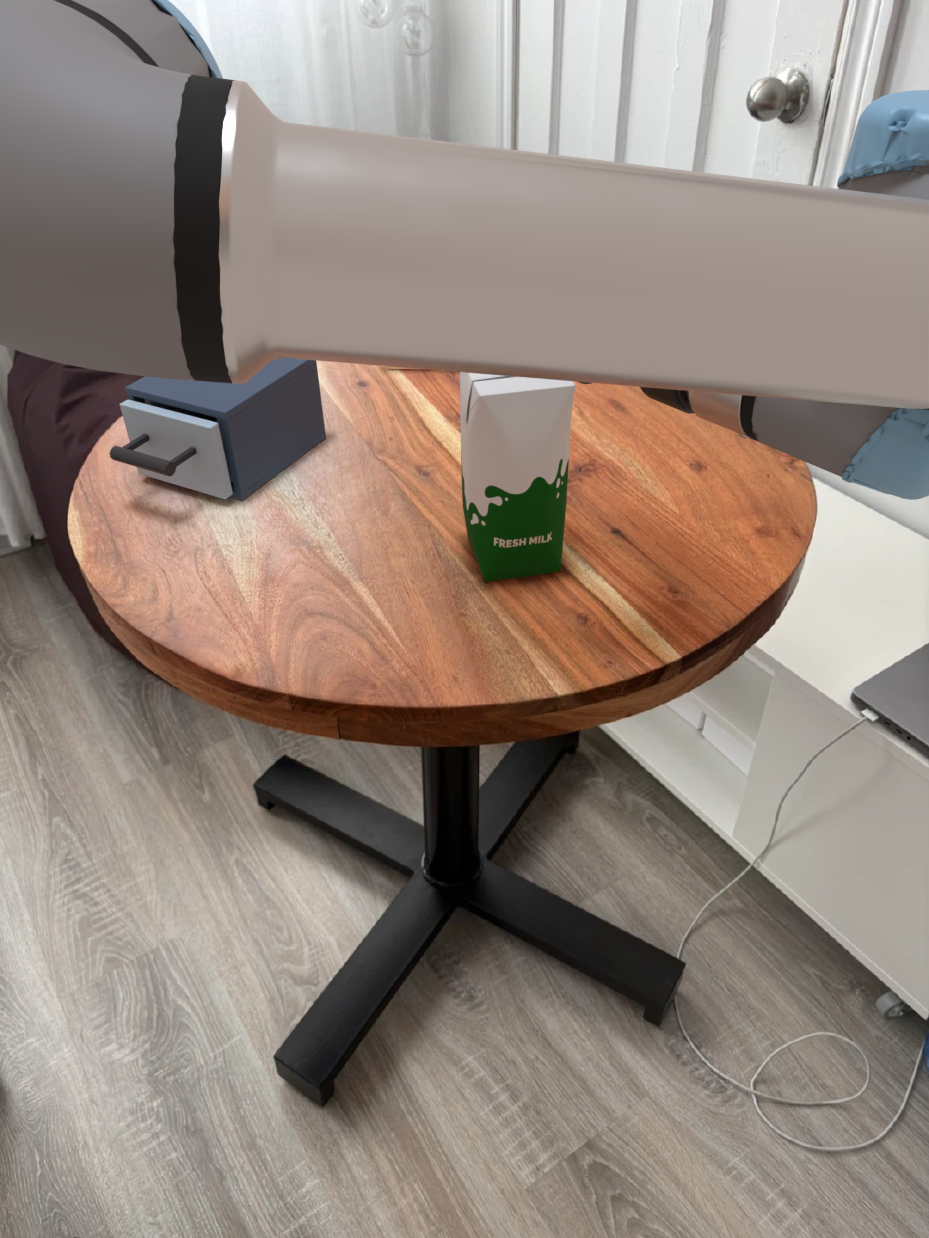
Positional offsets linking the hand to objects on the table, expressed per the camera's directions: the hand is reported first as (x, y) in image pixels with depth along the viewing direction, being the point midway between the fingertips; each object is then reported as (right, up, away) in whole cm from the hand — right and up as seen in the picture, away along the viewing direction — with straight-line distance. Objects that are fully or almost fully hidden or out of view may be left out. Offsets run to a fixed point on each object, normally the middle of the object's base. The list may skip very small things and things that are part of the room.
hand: (487, 276), depth 70 cm
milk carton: (+3, -21, +14) cm, 25 cm away
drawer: (-28, -10, +25) cm, 39 cm away
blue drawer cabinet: (-26, -9, +29) cm, 40 cm away
